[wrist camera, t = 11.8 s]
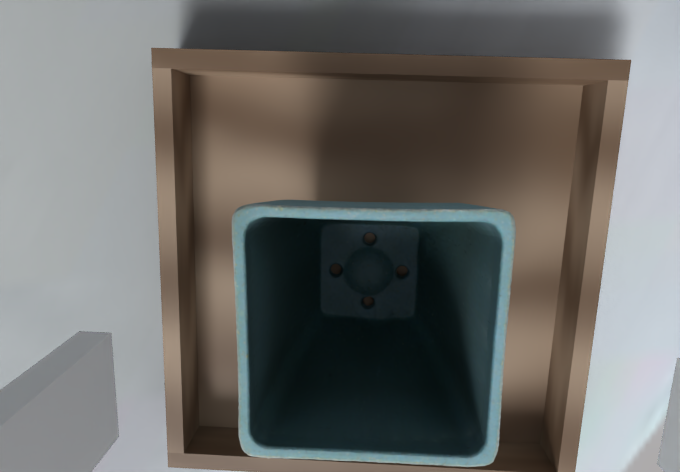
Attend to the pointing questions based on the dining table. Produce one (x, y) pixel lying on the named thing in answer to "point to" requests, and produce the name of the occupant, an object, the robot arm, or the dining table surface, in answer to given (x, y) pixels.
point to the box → (386, 186)
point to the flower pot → (371, 330)
